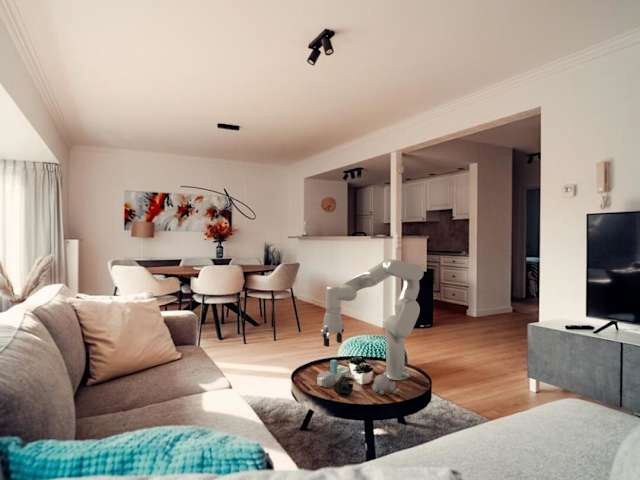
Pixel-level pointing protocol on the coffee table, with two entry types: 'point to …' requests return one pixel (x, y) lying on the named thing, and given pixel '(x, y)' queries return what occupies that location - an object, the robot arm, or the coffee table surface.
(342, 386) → the end cap
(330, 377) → the sleeve
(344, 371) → the socket block
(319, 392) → the coffee table surface
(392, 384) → the chubby cartoon animal
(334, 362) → the slip tube
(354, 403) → the coffee table surface
